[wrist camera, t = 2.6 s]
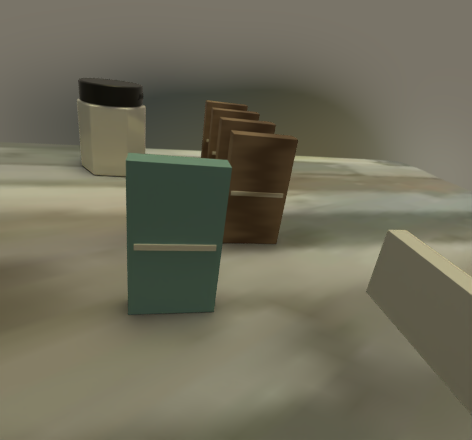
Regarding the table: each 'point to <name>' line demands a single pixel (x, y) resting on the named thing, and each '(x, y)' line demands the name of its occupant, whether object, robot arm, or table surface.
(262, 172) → the domino
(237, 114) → the domino
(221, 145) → the domino
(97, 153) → the jar
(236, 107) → the domino
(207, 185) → the domino teal
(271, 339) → the table surface
